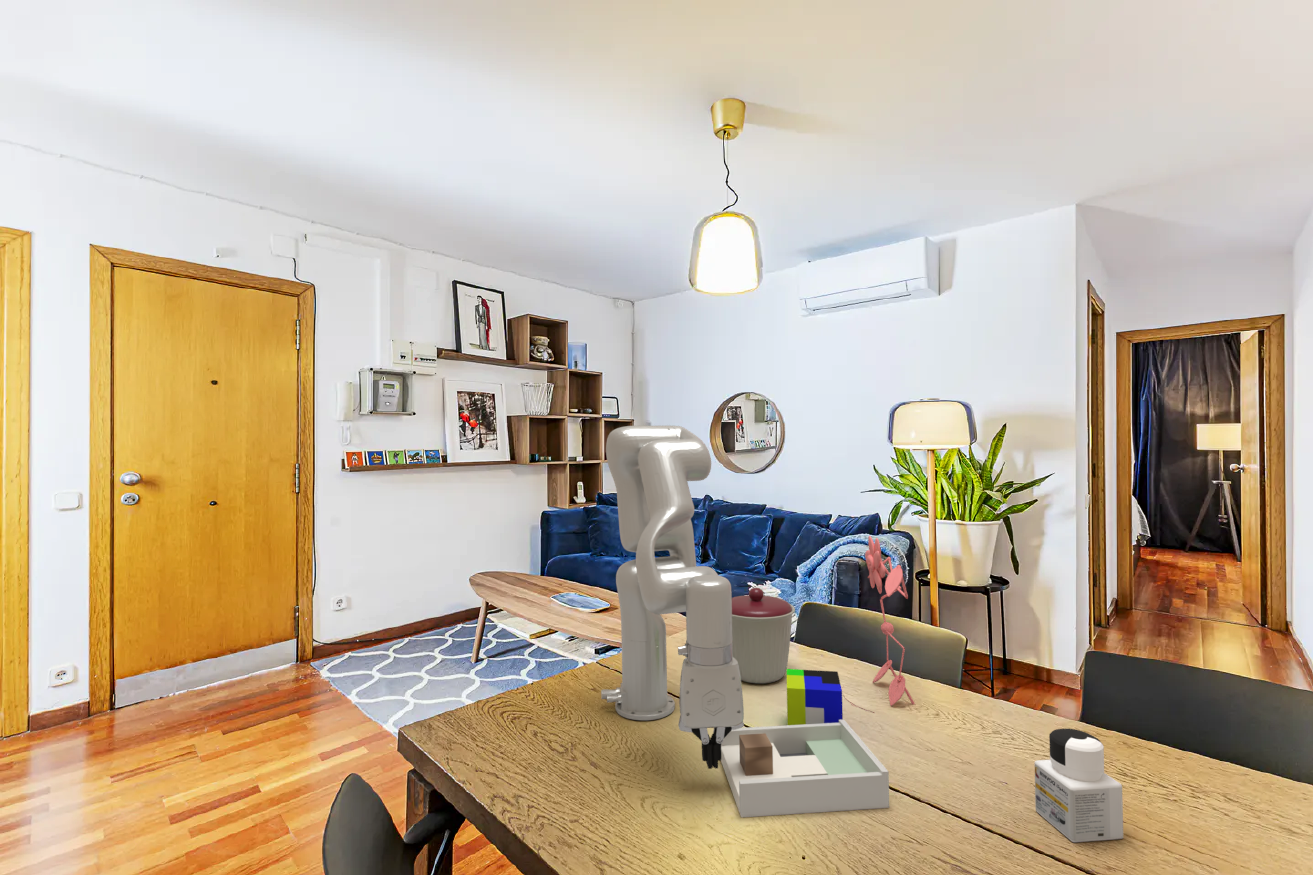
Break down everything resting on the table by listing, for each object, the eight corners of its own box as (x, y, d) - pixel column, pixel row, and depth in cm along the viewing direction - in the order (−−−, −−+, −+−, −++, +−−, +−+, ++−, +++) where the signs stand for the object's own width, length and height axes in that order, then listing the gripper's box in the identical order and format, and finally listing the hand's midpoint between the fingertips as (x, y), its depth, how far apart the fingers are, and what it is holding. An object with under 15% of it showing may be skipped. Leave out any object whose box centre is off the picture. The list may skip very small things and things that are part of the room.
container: (1034, 810, 94) (1032, 724, 94) (1082, 807, 95) (1080, 721, 95) (1072, 843, 86) (1070, 749, 86) (1124, 839, 87) (1122, 746, 87)
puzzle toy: (843, 745, 115) (842, 691, 115) (787, 741, 117) (786, 687, 117) (838, 721, 125) (837, 671, 125) (787, 717, 127) (786, 668, 127)
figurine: (895, 673, 150) (889, 527, 150) (931, 721, 124) (923, 545, 124) (830, 673, 151) (824, 528, 152) (851, 721, 126) (844, 547, 126)
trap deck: (741, 817, 94) (740, 780, 94) (719, 757, 112) (719, 726, 112) (889, 807, 95) (888, 771, 95) (844, 749, 113) (844, 719, 113)
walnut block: (745, 775, 101) (745, 747, 101) (739, 761, 105) (739, 734, 105) (773, 774, 101) (772, 746, 101) (765, 759, 105) (765, 733, 105)
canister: (796, 665, 156) (795, 580, 157) (796, 693, 139) (794, 598, 139) (724, 660, 161) (723, 578, 161) (715, 687, 143) (713, 595, 143)
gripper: (666, 662, 98) (668, 779, 98) (759, 658, 99) (762, 773, 99) (662, 646, 106) (664, 755, 106) (749, 643, 107) (751, 750, 107)
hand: (711, 764), depth 102 cm, fingers closed
